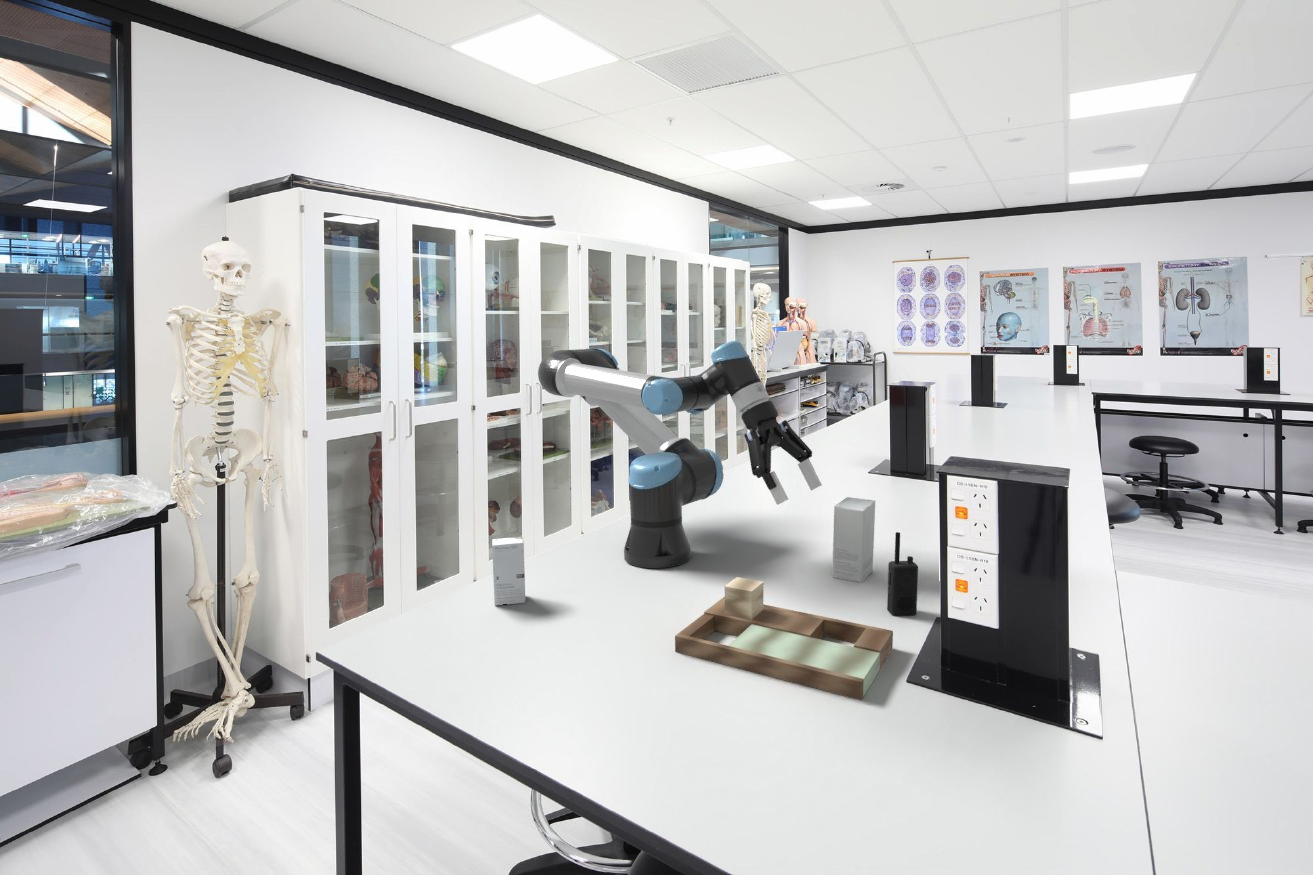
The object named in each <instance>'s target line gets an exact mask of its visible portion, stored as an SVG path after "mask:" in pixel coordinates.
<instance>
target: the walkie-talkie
mask: <svg viewBox="0 0 1313 875" xmlns="http://www.w3.org/2000/svg"><path fill="white" fill-rule="evenodd" d="M894 535H895V538H894V540H895V541H894V560H892V561H889V562H888V566H887V567H888V569H887V571H888V572H887V574H888V575H887V598H886V599H887V602H886V603H887V605H886V610H887V612H888V613H889V614H890V615H891V616H894V617H901V616H902V617H904V616H905V617H906V616H916V615H917V612H918V611H917V610H918V609H917V608H918V585H919V584H918V583H919V582H918V581H919V580H918V579H919V566H918V564H917V563H915V562H914V556H912V555H909V556H907V558H906V560H900V556H901V554H900V553H901V552H900V551H901V550H900V549H901V532H898V531H897V532H895V534H894Z"/></svg>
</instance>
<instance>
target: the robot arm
mask: <svg viewBox="0 0 1313 875" xmlns="http://www.w3.org/2000/svg"><path fill="white" fill-rule="evenodd" d="M710 358H711V361H712V365H711V366H709V367H708V368H707V369H705V370H704V371H702V372H700V374H698V375H689V376H681V377H665V376H659V375H652V374H646V373H640V372H634V371H628V370H621V369H620V368H619V367H618V365H619V363H618V359H616V357H615V356H614V355H613V354H612V353H611V352H609V351H608V350H606V349H603V348H595V347H587V348H583V349H582V348H579V349H559V350H555V351H552V352H550V353H548V354H547V355H546V356H544V357H543V358H542V360H541V361H540V363H539V366H538V370H537V376H538V381H539V383H540V385H541V387H542V388H543V390H544V391H546V392H548V393H549V394H551V395H553V396H560V397H564V398H573V397H575V396H580V397H581V398H582V399H583V400H584V401H585V403H587V405H590V406H592V407H595V406H598V407H599V409H601V410H602V411H603V412H604V413H605V415H607V416H608V417H609V418H610V420H612V421H613V423H614V424H616V426H617V427H618V428H619V429H620V430H622V432H623V433H624V434H625V435H626V436H627V437H628V438H629V439H630V440H631V441H632V442H633V443H634V444H635V445H636V446H637V447H638V448H639V449H640V450H641V451H642V452H643V453H644V455H640V456H638V457H636V458H635V459H633V461H631V463H630V465H629V476H628V483H629V508H630V526H629V528H630V529H629V530H628V534H627V537H626V538H627V539H626V542H625V545H624V547H623V555H624V556H623V557H624V561H625V562H626V563H628V564H629V565H632V566H634V567H638V568H644V569H665V568H672V567H673V568H674V567H677V566H681V565H683V564H685V563H687V562H689V560H691V546H690V543H689V540H688V537H687V534H686V531H685V528H684V525H683V510H682V509H683V506H686V505H688V504H692V503H694V502H697V501H700V500H705V499H708V498H709V497H711V496H713V495H715V494H716V493H718V491H719V490H720V488H721V486H722V485H723V480H724V471H723V470H724V466H723V463H722V461H721V459H720V457H719V456H718V454H717V453H716V452H714V451H713V450H711V449H708V448H698V447H697V446H696V445H695V444H694V443H693V442H692V441H691V440H690V439H689V438H687V437H678V436H677V435H676V434H675V433H674V432H673V431H672V430H671V429H670V428H669V427H668V426H666V424H665V423H664V422H663V421H661V419H660V418H659V417H658V415H660V416H661V415H663V416H668V415H672V414H675V413H680V412H681V413H682V412H686V413H689V414H691V415H693V416H694V415H695V416H696V415H700V414H701V413H703V412H705V411H707V410H709V409H710V408H711V407H712V406H714V405H715V404H717V403H718V402H720V401H721V400H722V399H724V398H725V397H727V396H728V395H729V396H730V398H731V400H732V403H733V404H734V406H735V408H736V410H737V413H738V414H741V420H742V422H743V423H744V425H745V428H746V429H747V430H748V431H746V432H745V433H744V435H743V437H744V439H745V441H746V443H747V448H748V455H749V461H750V467H751V473H752V475H753V476H754V477H755V476H756V478H758V479H761V478H762V479H763V482H764V484H765V486H766V487H767V489H768V490H769V492H770V494H771V496H772V498H773V500H774V501H775V503H776V505H777V506H778V505H780V504H782V503H785V502H786V501H788V500H789V497H788V495H787V494H786V492H785V489H784V487H783V485H782V484H781V481H780V479H779V477H778V475H777V473H776V472H775V470H772V447H776V448H777V447H778V448H779V447H780V448H781V449H782V450H784V451H785V452H786V453H788V454H789V455H790V456H791V457H792V458H794V459H795V460H796V461H797V462H798V463H797V466H798V468H799V470H800V472H801V474H802V475H803V478H804V480H805V482H806V484H807V485H808V487H809V489H810V491H814V490H815V489H817V488H819V487H821V486H823V484H822V481H821V480H820V479H819V476H818V475H817V472H816V471H815V469H814V466H813V464H812V463H811V460H810V458H812V457H813V451H812V449H810V447H809V446H808V445H807V443H806V442H804V440H803V439H801V437H800V436H799V435H798V434H797V432H795V430H794V429H792V427H791V426H790V424H789V422H788V421H787V420H786V419H785V420H782V421H781V422H780V423H779V422H778V420H777V418H778V416H779V411H778V410H777V408H776V407H775V404H774V402H773V401H772V400H769V399H770V395H769V394H768V392H767V390H766V388H765V385H764V384H763V382H762V379H761V378H760V377H759V373H758V372H757V370H756V369H755V366H754V364H753V362H752V360H751V358H750V355H749V354H748V353H747V351H746V349H745V348H744V346H743V344H742V343H741V342H740V341H737V340H731V341H728V342H725V343H723V344H721V345H719V346H717V347H716V348H714V350H713V351H712V353H710Z"/></svg>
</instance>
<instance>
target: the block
mask: <svg viewBox="0 0 1313 875" xmlns="http://www.w3.org/2000/svg"><path fill="white" fill-rule="evenodd" d="M724 597H725V614H727V615H732V616H737V617H741V618H746V619H750V620H752V619H753V618H754V617H755V616H756V615H758V614H759V613H760V612H761V611H762V610H763V604H764V581H761V580H754V579H751V578H744V577H738V576H736V577H735V578H734V579H733V580H731V581H730V582H728V583H726V584H725V585H724Z"/></svg>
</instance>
